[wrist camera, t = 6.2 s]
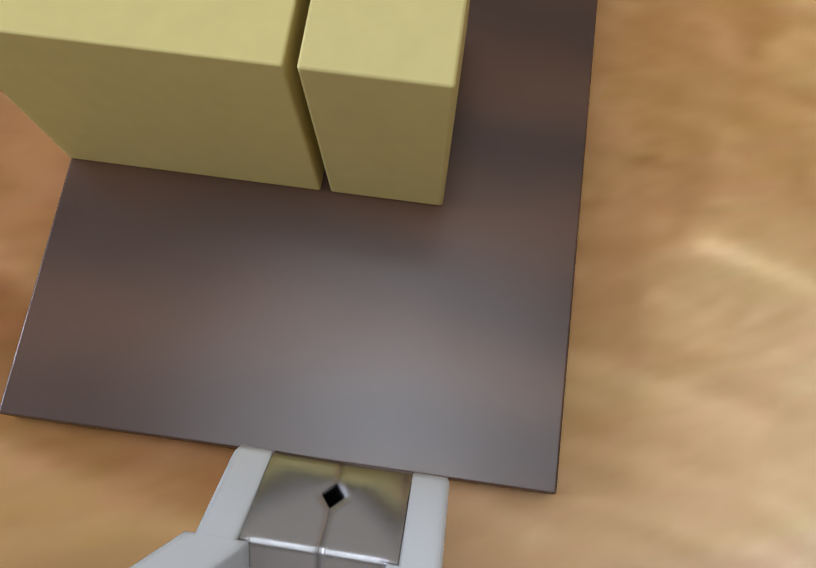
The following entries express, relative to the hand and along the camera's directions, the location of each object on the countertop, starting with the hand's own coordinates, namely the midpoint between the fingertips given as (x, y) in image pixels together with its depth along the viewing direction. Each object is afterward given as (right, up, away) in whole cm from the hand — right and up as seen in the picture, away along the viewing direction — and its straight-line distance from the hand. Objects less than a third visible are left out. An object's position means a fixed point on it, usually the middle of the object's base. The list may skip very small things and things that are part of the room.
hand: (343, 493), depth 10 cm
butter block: (-5, +9, +13) cm, 17 cm away
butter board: (-1, +8, +14) cm, 16 cm away
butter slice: (+1, +8, +13) cm, 15 cm away
